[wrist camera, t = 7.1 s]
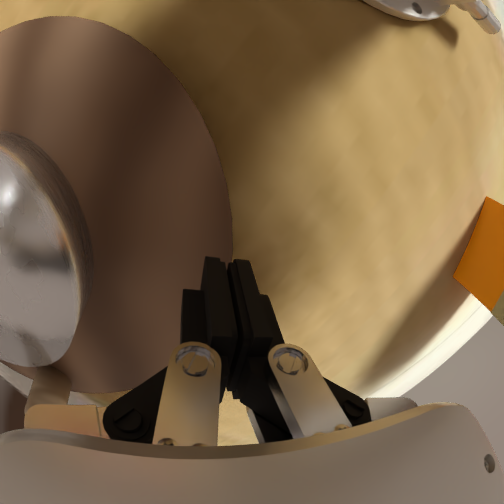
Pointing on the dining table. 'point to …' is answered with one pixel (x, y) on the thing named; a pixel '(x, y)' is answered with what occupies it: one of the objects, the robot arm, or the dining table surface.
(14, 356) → the steel cover
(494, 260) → the orange juice
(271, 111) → the dining table surface
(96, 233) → the lazy susan
